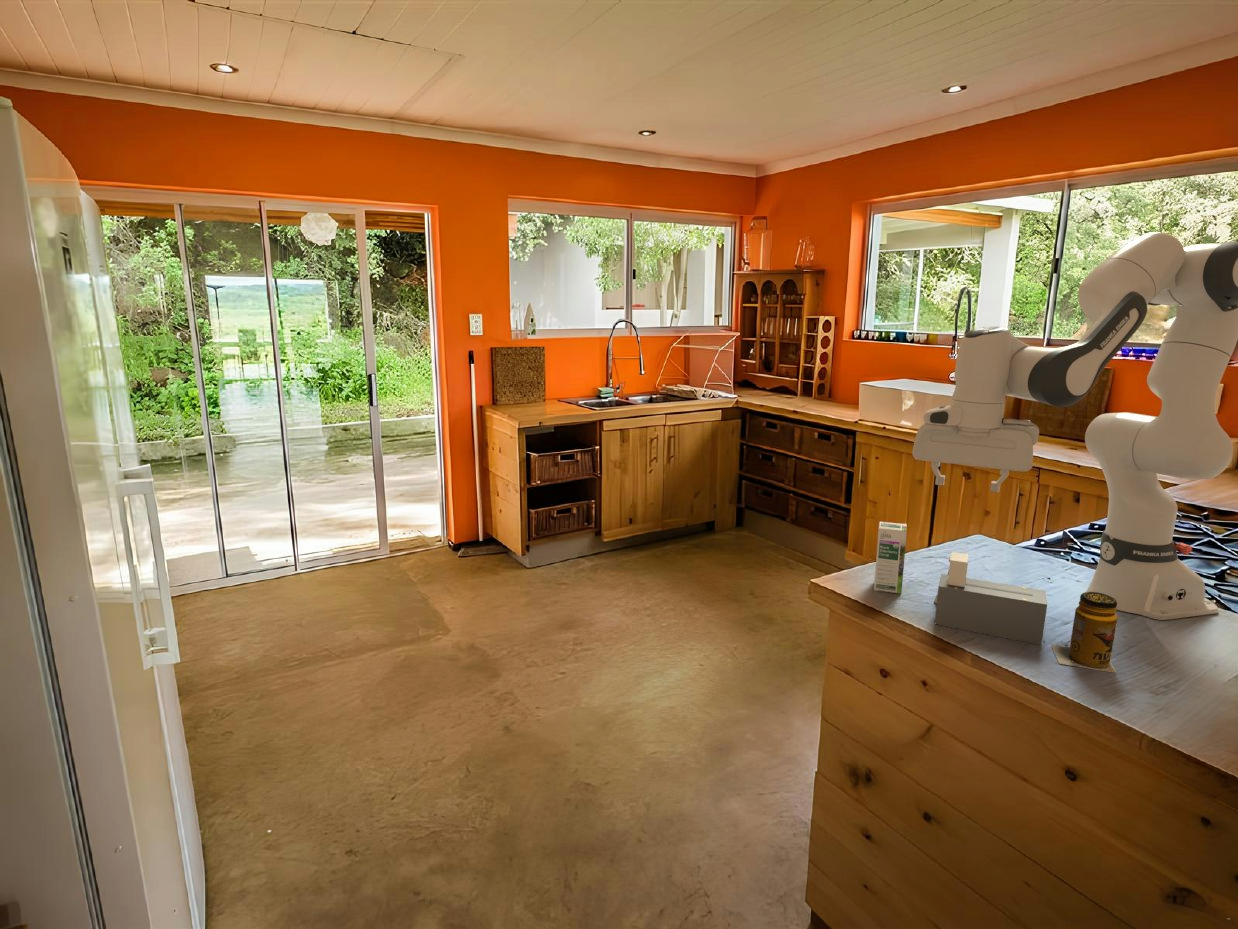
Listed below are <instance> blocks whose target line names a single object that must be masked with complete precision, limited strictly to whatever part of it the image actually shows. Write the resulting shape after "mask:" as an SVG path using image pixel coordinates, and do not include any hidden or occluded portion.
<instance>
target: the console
mask: <svg viewBox="0 0 1238 929" xmlns="http://www.w3.org/2000/svg"><path fill="white" fill-rule="evenodd" d="M948 576H949V575H947V574H944V573H941V574H940V577H939V578H940V579H939V583H938V587H937V593H938V596H937V604H936V606H935V607H936V608H935V614H934V615H935V617H934V624H935V623H936V624H939V625H938V626H941V625H944V626H943V627H946V626H951V627H954V628H953V629H956V628H959V629H958V630H963V631H967V630H970V631H969V632H972V631H973V633H979V634H982V633H984V635H987V634H988V636H994V637H1000V638H1005V639H1008V640H1014V641H1019V642H1024V643H1030V644H1035V645H1039V646H1041V645H1042V644H1043V638H1044V637H1043V636H1044V629H1045V623H1046V617H1047V610H1048V600H1047V591H1046V590H1044V589H1039V588H1038V589H1037V588H1032V587H1031V588H1030V587H1026V586H1019V585H1014V584H1013V585H1012V584H1006V583H999V582H993V581H987V580H981V579H976V578H969V577H966V583H965V587H960V586H954V585H948ZM936 624H935V625H936ZM951 627H950V628H951Z"/></svg>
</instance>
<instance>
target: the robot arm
mask: <svg viewBox="0 0 1238 929" xmlns="http://www.w3.org/2000/svg"><path fill="white" fill-rule="evenodd" d="M1077 294H1078V296H1077V297H1078V298H1077V299H1078V303H1079V307H1080V308H1081V310H1082V312H1083V313H1084V315H1085V316H1086V317H1087V318H1088V319H1089V320H1090V321H1092V322H1093V324H1092V325H1091V326H1090V328H1089V329H1087V331H1085V333H1084V334H1083V336H1081V337H1080V339H1079V340H1077V341H1076V342H1075V343H1073V344H1070V345H1067V346H1060V347H1046V346H1045V347H1042V346H1033V345H1029V344H1028V343H1025V342H1023V341H1022V340H1019V339H1018V338H1016V337H1015V336H1014V335H1013V333H1012V332H1011V330H1010V328H1008V327H1004V326H989V327H986V326H985V327H984V326H983V327H978V328H974V329H971V330H969V331H968V332H965V334H964V335H963V336H962V339H961V341H960V344H959V348H958V351H957V356H956V362H955V369H954V381H955V388H954V391H953V394H952V395H951V401H950V402H951V403H950V404H949V405H941V406H939V407H934V408H930V409H927V410H926V411H925V412H924V414H923V422H924V423H923V424H922V425H921V426H920V427H919V428H918V429H917V432H916V434H915V438H914V442H913V447H912V456H913V457H914V459H915V460H917V461H925V462H926V461H927V462H931V463H930V468H931V470H932V472H933V474H934V475H935V483H934V485H937V486H944V485H945V479H946V475H945V474H941V471H940V469H939V467H940V466H941V463H944V464H953V465H960V466H961V465H962V466H969V467H970V466H971V467H980V468H988V469H998V470H1000V471H999V475H1000V477H999V478H998V479H997V481H994V480H991V483H990V490H989V491H990V492H991V493H998V494H999V493H1000V489H1001V484H1002V483H1003V482H1004V481H1005V480H1006V479H1007V478H1008V477H1009V473H1010V471H1015V472H1022V473H1024V472H1025V473H1026V472H1028V471H1030V470H1031V469H1032V468H1033V461H1034V446H1035V445H1036V444H1037V443H1038V441H1039V436H1040V428H1039V427H1038V424H1035V423H1033V422H1032V420H1028V419H1015V418H1007V417H1006V418H1005V417H1004V412H1005V405H1006V396H1007V397H1013V398H1018V399H1021V400H1027V401H1028V400H1029V401H1033V402H1039V403H1041V404H1042V403H1043V404H1045V405H1049V406H1053V407H1056V408H1067V407H1069V406H1070V407H1071V406H1073V405H1076V404H1077V403H1078V402H1080V401H1081V400H1083V399H1084V397H1086V396H1087V395H1088V394H1089V393H1090V391H1091V389H1092V388H1093V387H1094V385H1095V383H1096V381H1097V379H1098V377H1099V375H1100V374H1101V372H1102V371H1103V370H1104V369H1105V368H1106V366H1107V365H1108V364H1109V363H1110V362H1111V361H1112V359H1114V357H1115V356H1116V355H1117V354H1118V352H1120V350H1121V349H1122V348H1123V347H1124V346H1125V345H1126V343H1127V342H1128V341H1129V340H1130V339H1131V338H1132V337H1133V336H1134V334H1135V333H1136V332H1137V331H1138V330H1139V328H1140V326H1142V324H1143V322H1144V320H1145V319H1146V316H1147V314H1148V306H1156V307H1157V306H1175V308H1176V312H1175V313H1176V314H1175V319H1174V320H1173V322H1172V323H1171V325H1170V327H1169V329H1168V331H1167V332H1166V334H1165V335H1164V338H1163V341H1162V343H1161V345H1160V347H1159V349H1158V352H1157V354H1156V356H1155V359H1154V360H1153V362H1152V365H1151V367H1150V370H1149V372H1148V374H1147V378H1146V383H1147V386H1148V388H1149V389H1150V391H1151V393H1152V394H1154V395H1155V396H1157V398H1159V399H1160V400H1161V410H1160V413H1159V415H1158V416H1155V415H1148V414H1140V413H1135V412H1126V411H1125V412H1109V413H1108V412H1107V413H1102V414H1100V415H1098V416H1096V417H1095V418H1094V419H1092V421H1091V422H1090V423H1089V425H1088V426H1087V428H1086V431H1085V435H1084V443H1085V447H1086V450H1087V451H1088V452H1089V453H1090V455H1092V457H1093V458H1094V459H1095V460H1096V461H1097V463H1098V464H1099V466H1100V468H1101V470H1102V473H1103V475H1104V477H1105V481H1106V486H1107V489H1108V508H1107V518H1106V523H1105V524H1106V526H1105V529H1103V531H1102V534H1101V539H1100V545H1099V555H1100V556H1099V560H1098V563H1097V565H1096V569H1095V571H1094V573H1093V574H1094V575H1093V577H1092V579H1091V581H1090V584H1089V586H1088V587H1087V589H1086V591H1085V592H1098V593H1103V594H1106V595H1109V596H1111V597H1113V598H1115V600H1116V601H1117V606H1116V611H1121V612H1126V613H1131V614H1136V615H1141V616H1144V617H1147V618H1149V619H1154V620H1159V621H1167V620H1174V619H1175V620H1176V619H1181V618H1188V617H1189V618H1191V617H1197V616H1205V615H1213V614H1218V612H1219V608H1218V606H1217V604H1216V603H1214V602H1213V601H1211V600H1209V599H1208V598H1207V597H1206V585H1205V582H1204V579H1203V578H1202V577H1201V576H1200V575H1199V574H1198V573H1196V572H1195V571H1194V570H1193V569H1191V568H1190V567H1189V566H1187V564H1185V563H1184V562H1183V561H1182V560H1180V559H1179V557H1178V556H1179V555H1178V553H1181V554H1183V555H1185V556H1187V555H1190V553H1191V552H1192V551H1193V547H1192V546H1191V545H1189V544H1186V543H1184V542H1179V543H1177V542H1176V541H1175V540H1173V537H1174V532H1175V527H1176V526H1175V525H1176V520H1177V514H1178V509H1179V508H1178V504H1177V502H1176V500H1175V499H1174V497H1173V496H1172V495H1170V494H1169V493H1168V492H1167V491H1166V490H1165V489H1164V488H1163V487H1162V484H1161V483H1160V481H1159V479H1158V475H1157V474H1159V475H1163V476H1167V477H1171V478H1175V479H1181V480H1183V479H1185V480H1186V479H1187V480H1210V479H1213V478H1215V477H1217V476H1219V475H1220V474H1221V473H1223V472H1224V471H1225V470H1226V469H1227V468H1228V466H1229V465H1230V463H1231V461H1232V459H1233V456H1234V446H1233V442H1232V439H1231V437H1230V436H1229V435H1228V433H1227V432H1226V431H1225V430H1224V429H1223V427H1222V426H1221V425H1220V423H1219V420H1218V417H1217V415H1216V408H1215V407H1216V406H1215V405H1216V404H1215V403H1216V398H1217V397H1216V396H1217V391H1218V389H1219V387H1220V384H1221V381H1222V378H1223V376H1224V374H1225V371H1226V369H1227V366H1228V364H1229V362H1230V361H1231V357H1232V355H1233V353H1234V351H1235V348H1236V345H1237V342H1238V241H1227V242H1226V241H1225V242H1223V243H1221V242H1220V243H1219V242H1217V243H1201V244H1192V245H1189V246H1184V245H1183V244H1182V243H1181V242H1180V240H1179V239H1178V238H1176V237H1175V236H1173V235H1171V234H1169V233H1166V232H1162V231H1161V232H1160V231H1157V232H1156V231H1155V232H1154V231H1153V232H1147V233H1144V234H1143V235H1140V236H1139V237H1137V238H1135V239H1134V240H1132V241H1130V242H1127V244H1125V245H1124V246H1122V247H1120V248H1119V249H1118V250H1116V251H1114V252H1113V253H1112V254H1111V255H1110V256H1108V257H1107V258H1106V259H1105V260H1103V261H1102V262H1101V263H1099V264H1098V266H1096V267H1095V268H1094V269H1093V270H1092V271H1090V272H1089V274H1087V275H1086V277H1085V278H1084V279H1083V280H1082V282H1081V283H1080V285H1079V288H1078V293H1077Z"/></svg>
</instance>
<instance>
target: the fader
mask: <svg viewBox="0 0 1238 929" xmlns="http://www.w3.org/2000/svg"><path fill="white" fill-rule="evenodd" d="M969 555H970V554H968V553H962V552H954V551H951V554H950V557H951V558H950V562H949V568H948V571H949V576H948V585H954V586H960V587H965V583H966V578H967V576H968V575H967V574H968V565H969V564H968V563H969Z"/></svg>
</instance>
